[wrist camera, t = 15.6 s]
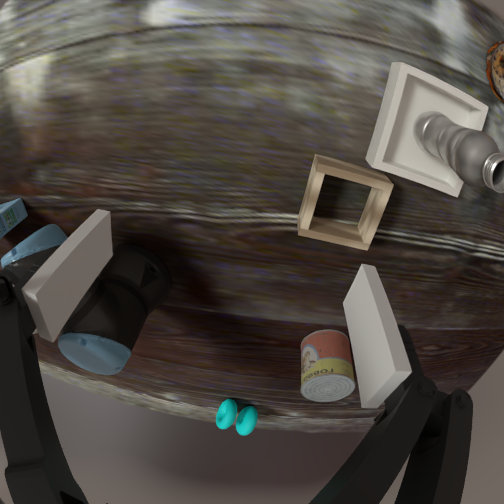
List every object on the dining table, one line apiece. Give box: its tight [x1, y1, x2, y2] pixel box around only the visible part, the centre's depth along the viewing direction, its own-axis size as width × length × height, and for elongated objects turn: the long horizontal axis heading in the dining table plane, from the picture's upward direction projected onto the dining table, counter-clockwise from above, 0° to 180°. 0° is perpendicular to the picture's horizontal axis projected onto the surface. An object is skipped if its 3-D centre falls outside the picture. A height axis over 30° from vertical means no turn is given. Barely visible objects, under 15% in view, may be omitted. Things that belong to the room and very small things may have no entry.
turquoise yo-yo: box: [216, 399, 258, 435], centre depth 81 cm, size 10×10×10 cm
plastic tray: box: [366, 62, 488, 197], centre depth 36 cm, size 16×16×4 cm
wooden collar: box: [297, 154, 394, 250], centre depth 44 cm, size 11×11×5 cm
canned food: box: [301, 330, 355, 402], centre depth 61 cm, size 11×11×12 cm
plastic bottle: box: [413, 111, 504, 193], centre depth 29 cm, size 6×7×20 cm
